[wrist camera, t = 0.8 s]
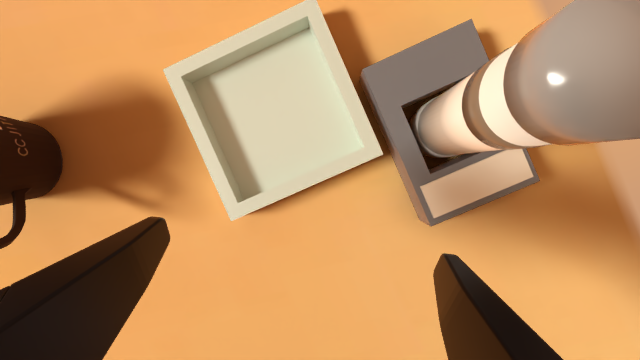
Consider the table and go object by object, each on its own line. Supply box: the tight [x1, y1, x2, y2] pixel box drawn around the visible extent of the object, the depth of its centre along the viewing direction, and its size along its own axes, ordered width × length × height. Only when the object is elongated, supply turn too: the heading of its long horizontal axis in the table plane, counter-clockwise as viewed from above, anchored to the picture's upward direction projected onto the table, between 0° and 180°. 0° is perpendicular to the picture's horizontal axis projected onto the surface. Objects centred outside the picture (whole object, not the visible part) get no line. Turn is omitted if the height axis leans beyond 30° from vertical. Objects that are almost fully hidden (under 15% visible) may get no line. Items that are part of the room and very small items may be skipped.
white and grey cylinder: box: [409, 0, 640, 158], centre depth 14 cm, size 4×4×14 cm
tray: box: [163, 0, 383, 221], centre depth 21 cm, size 12×12×2 cm
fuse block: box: [359, 19, 540, 226], centre depth 20 cm, size 12×8×3 cm, turn 24°
